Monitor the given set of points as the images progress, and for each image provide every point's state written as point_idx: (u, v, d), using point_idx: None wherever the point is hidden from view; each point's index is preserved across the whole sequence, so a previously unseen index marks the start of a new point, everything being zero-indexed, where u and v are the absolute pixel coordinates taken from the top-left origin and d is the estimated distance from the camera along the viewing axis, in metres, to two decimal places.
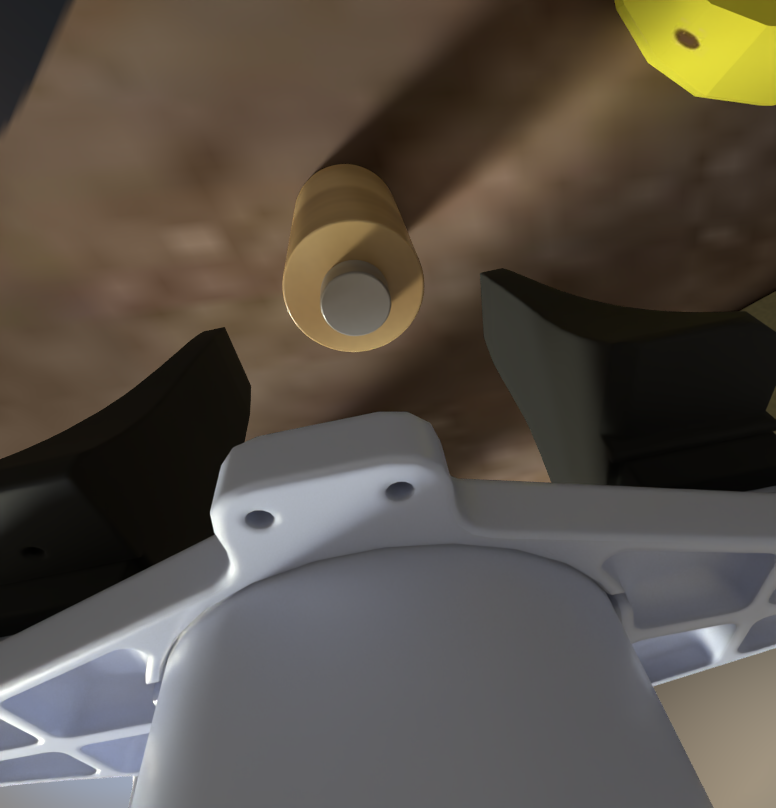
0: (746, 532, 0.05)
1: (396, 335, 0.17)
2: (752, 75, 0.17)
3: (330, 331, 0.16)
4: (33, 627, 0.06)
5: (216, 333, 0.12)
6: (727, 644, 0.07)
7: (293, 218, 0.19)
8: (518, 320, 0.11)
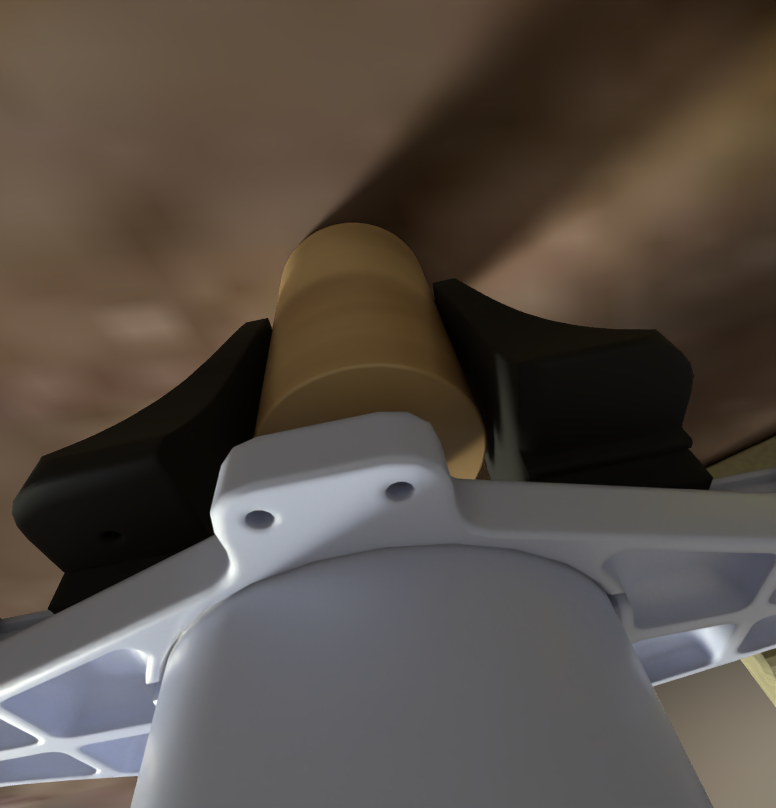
0: (746, 532, 0.05)
1: None
2: None
3: None
4: (33, 627, 0.06)
5: (262, 323, 0.12)
6: (726, 643, 0.07)
7: (276, 310, 0.13)
8: (461, 332, 0.11)
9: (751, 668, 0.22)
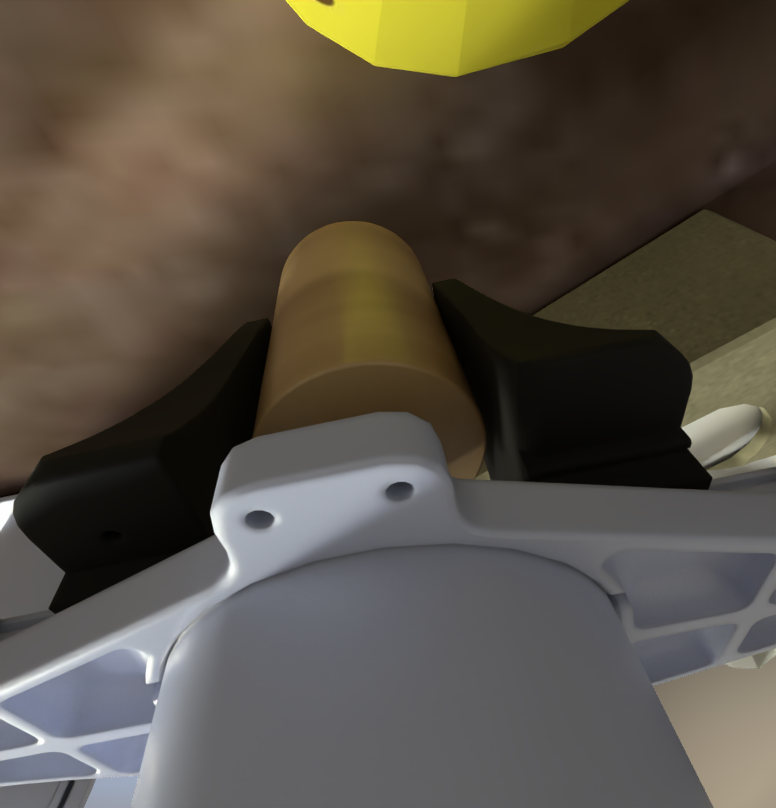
0: (746, 532, 0.05)
1: None
2: (410, 39, 0.14)
3: None
4: (33, 627, 0.06)
5: (262, 323, 0.12)
6: (726, 643, 0.07)
7: (276, 308, 0.13)
8: (460, 332, 0.11)
9: None
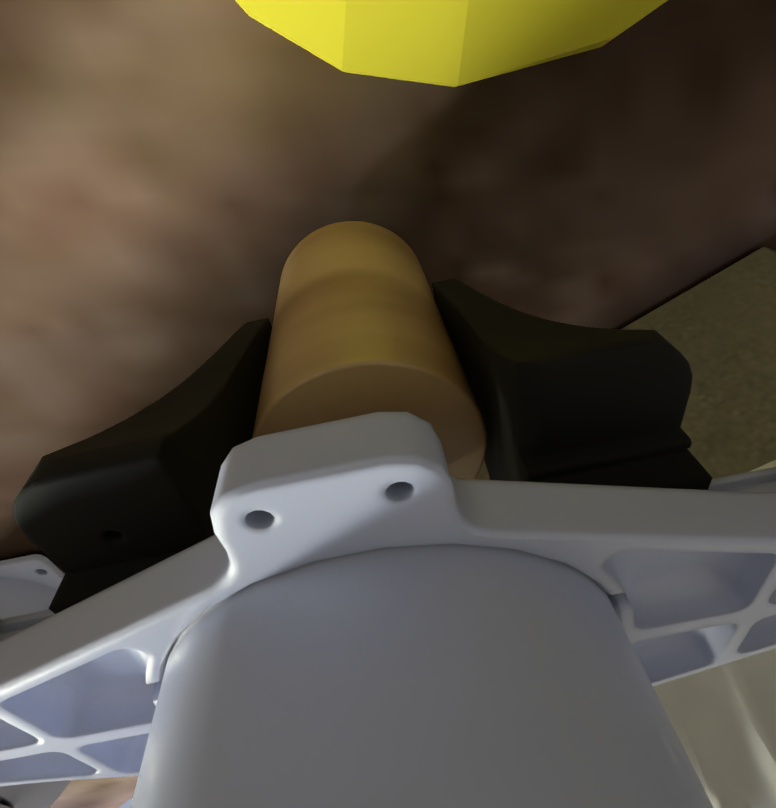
0: (746, 532, 0.05)
1: None
2: (391, 35, 0.10)
3: None
4: (33, 627, 0.06)
5: (262, 323, 0.12)
6: (727, 643, 0.07)
7: (276, 308, 0.13)
8: (460, 332, 0.11)
9: None
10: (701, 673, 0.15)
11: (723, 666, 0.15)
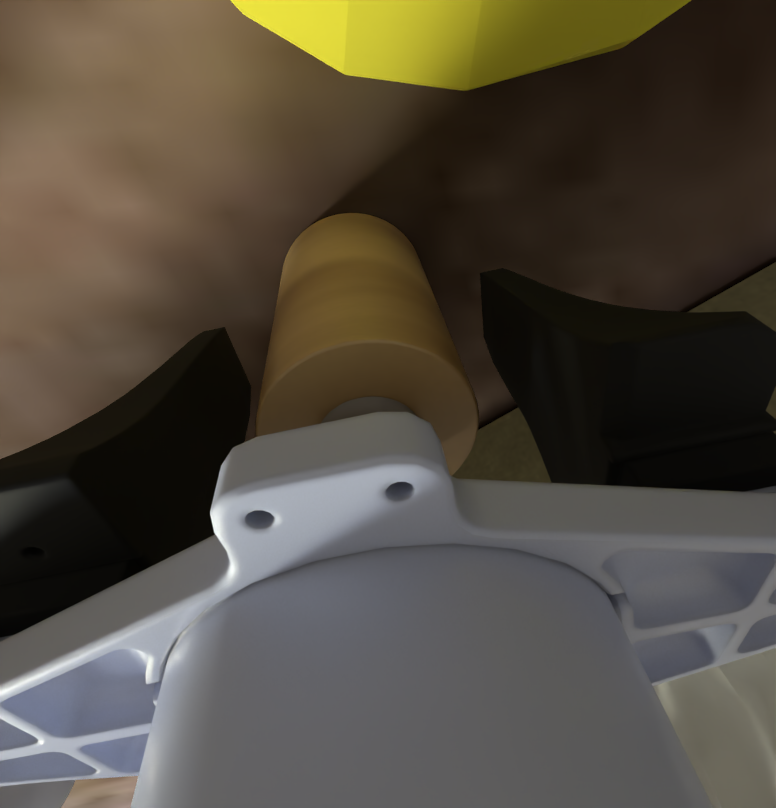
0: (746, 532, 0.05)
1: None
2: (397, 35, 0.09)
3: None
4: (33, 627, 0.06)
5: (216, 333, 0.12)
6: (726, 643, 0.07)
7: (278, 296, 0.13)
8: (518, 320, 0.11)
9: None
10: (721, 708, 0.14)
11: (745, 701, 0.14)
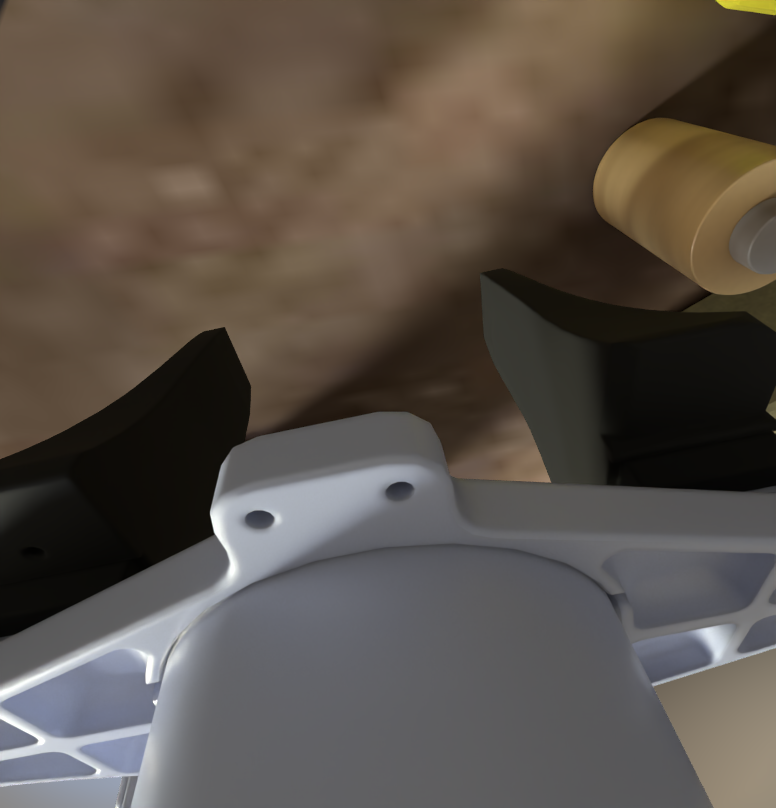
0: (746, 532, 0.05)
1: None
2: None
3: (719, 273, 0.17)
4: (33, 627, 0.06)
5: (216, 333, 0.12)
6: (727, 643, 0.07)
7: (633, 169, 0.19)
8: (518, 320, 0.11)
9: None
10: None
11: None
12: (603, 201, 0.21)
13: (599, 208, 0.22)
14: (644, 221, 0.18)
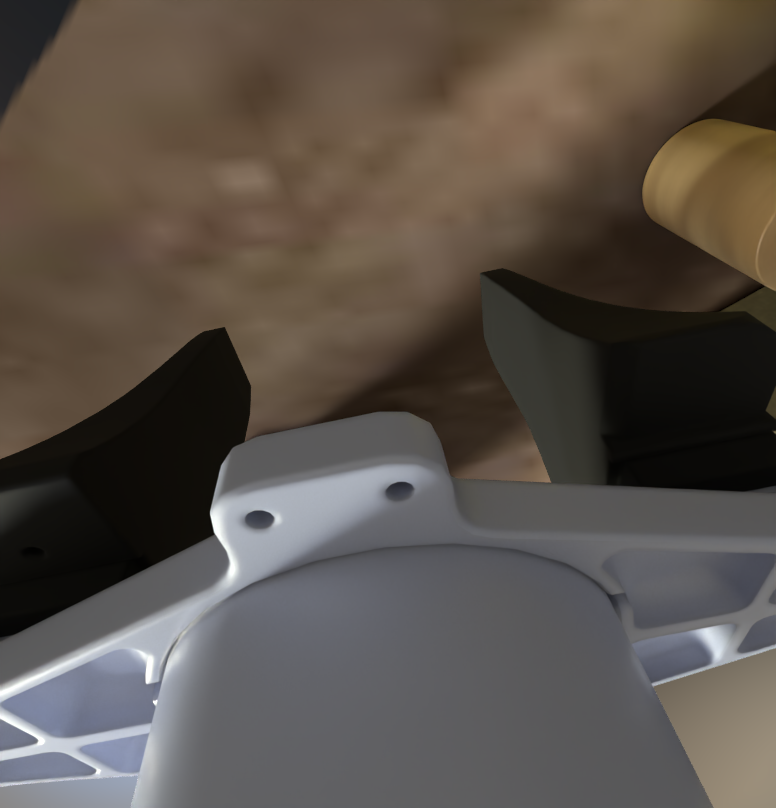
0: (746, 532, 0.05)
1: None
2: None
3: None
4: (33, 627, 0.06)
5: (216, 333, 0.12)
6: (725, 643, 0.07)
7: (690, 168, 0.19)
8: (518, 320, 0.11)
9: None
10: None
11: None
12: (654, 200, 0.21)
13: (648, 207, 0.22)
14: (702, 219, 0.19)
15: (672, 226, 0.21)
